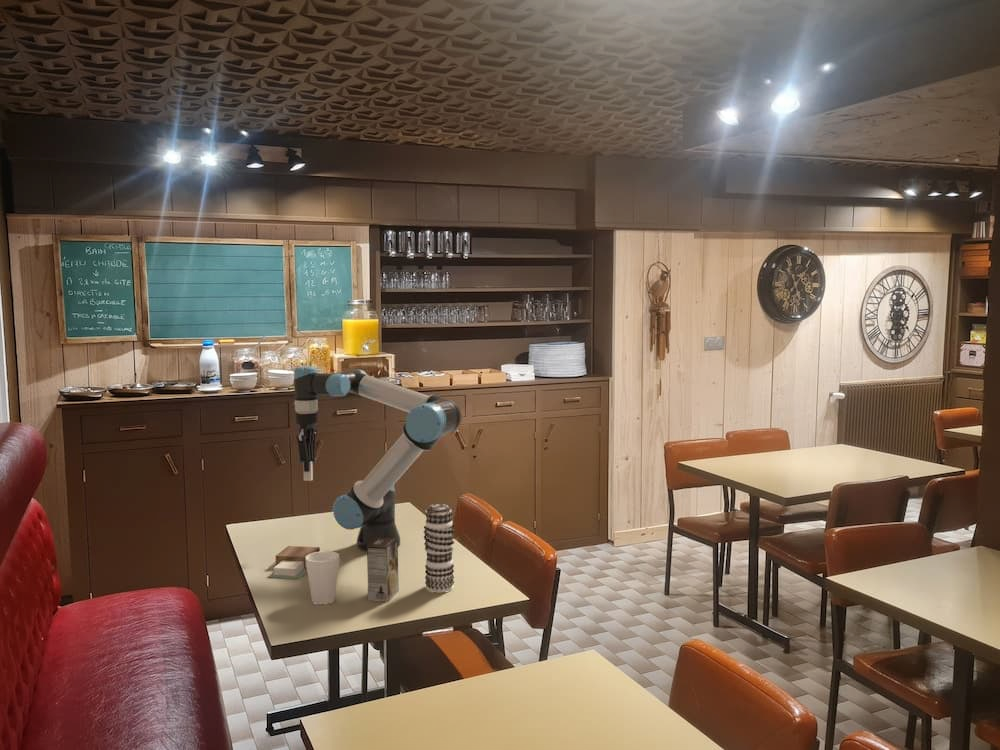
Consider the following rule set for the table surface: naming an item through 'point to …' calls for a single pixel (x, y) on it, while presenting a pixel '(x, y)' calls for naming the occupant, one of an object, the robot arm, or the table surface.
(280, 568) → the tile
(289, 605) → the table surface
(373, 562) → the coffee box
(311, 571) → the foam cup
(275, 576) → the mat
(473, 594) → the table surface
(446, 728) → the table surface
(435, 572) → the decorative candle
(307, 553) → the brown flat block
